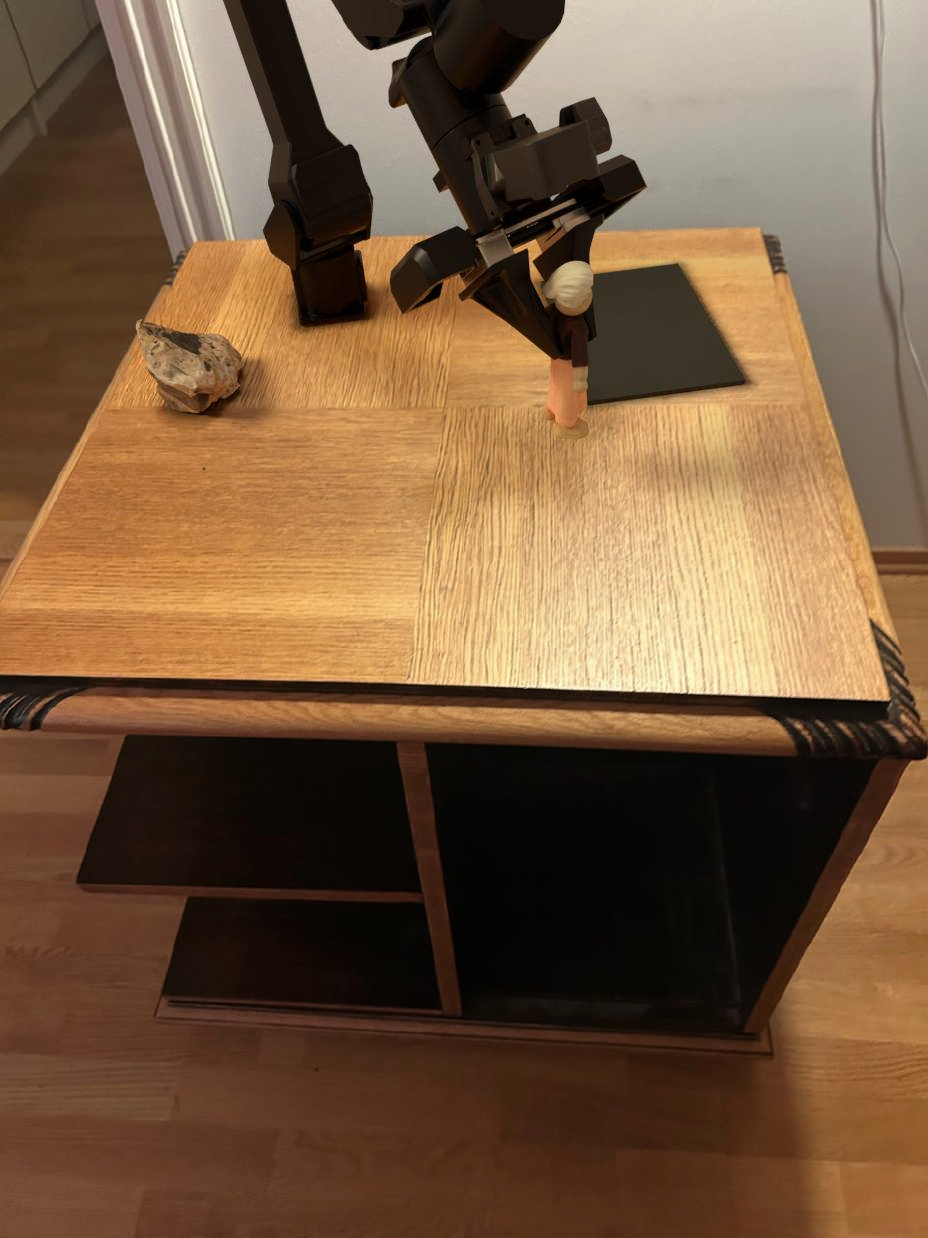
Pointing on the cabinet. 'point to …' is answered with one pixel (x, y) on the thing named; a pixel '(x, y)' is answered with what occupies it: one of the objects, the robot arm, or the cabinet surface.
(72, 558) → the cabinet surface
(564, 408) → the grandmother figurine
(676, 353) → the mat
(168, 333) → the rock
